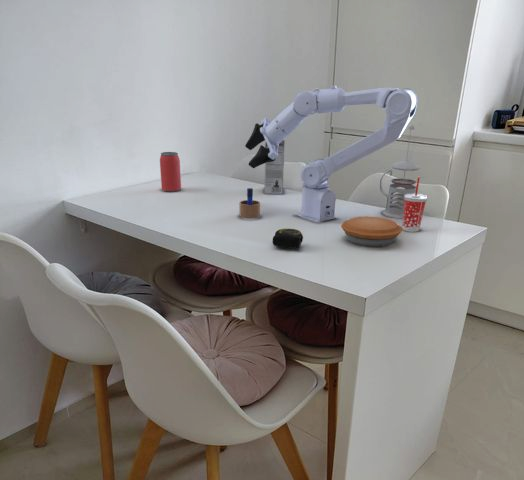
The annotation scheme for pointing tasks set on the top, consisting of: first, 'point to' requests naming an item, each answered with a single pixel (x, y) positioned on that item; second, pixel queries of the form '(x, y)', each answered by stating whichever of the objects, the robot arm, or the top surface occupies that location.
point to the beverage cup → (413, 210)
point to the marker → (249, 196)
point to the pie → (371, 231)
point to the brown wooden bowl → (249, 209)
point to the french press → (398, 207)
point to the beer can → (170, 171)
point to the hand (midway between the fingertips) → (249, 156)
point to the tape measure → (288, 238)
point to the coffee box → (275, 172)
